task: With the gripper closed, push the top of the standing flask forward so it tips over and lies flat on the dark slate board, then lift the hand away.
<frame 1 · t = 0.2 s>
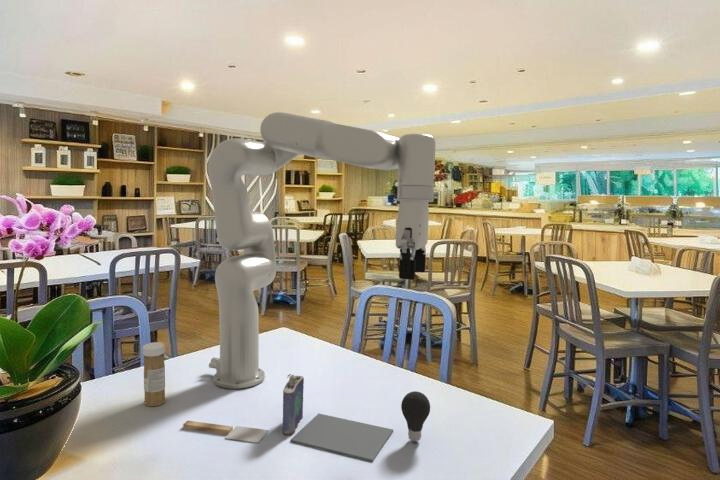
hand: (412, 275, 103), 31 cm above the table, tool pointing down, fingers open, 9 cm apart
slate board: (343, 436, 96), on the table
light bulb: (414, 442, 95), on the table
sprinkles bottle: (155, 403, 109), on the table
turner: (228, 432, 97), on the table
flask: (292, 425, 100), on the table
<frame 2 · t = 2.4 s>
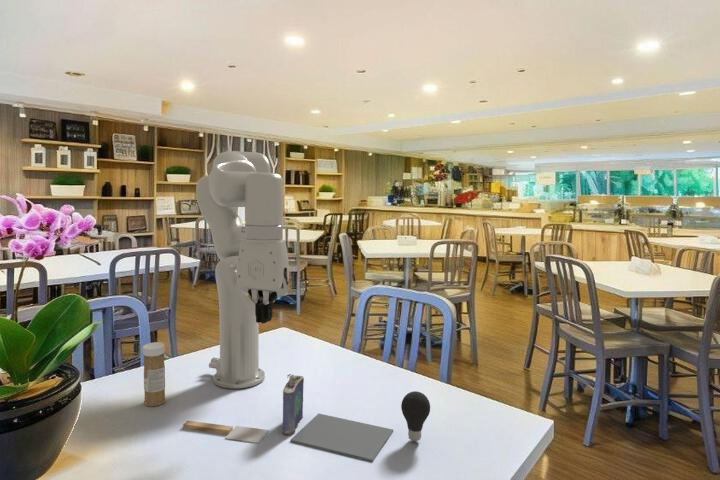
hand: (263, 321, 101), 21 cm above the table, tool pointing down, fingers closed
nothing on the table moved.
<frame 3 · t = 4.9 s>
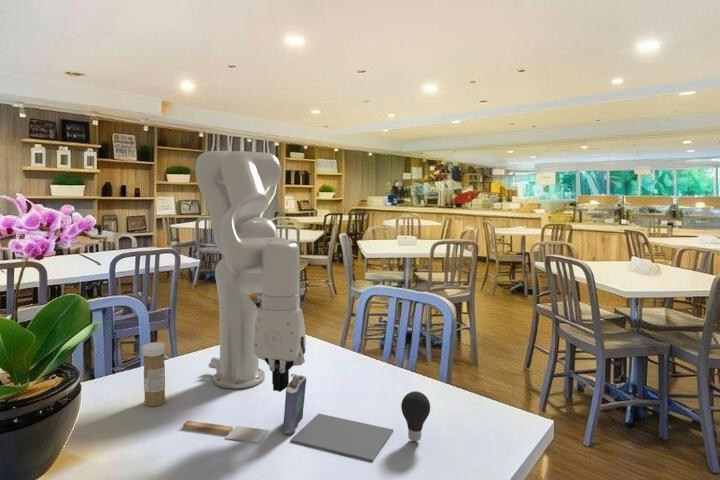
hand: (280, 388, 100), 7 cm above the table, tool pointing down, fingers closed
nothing on the table moved.
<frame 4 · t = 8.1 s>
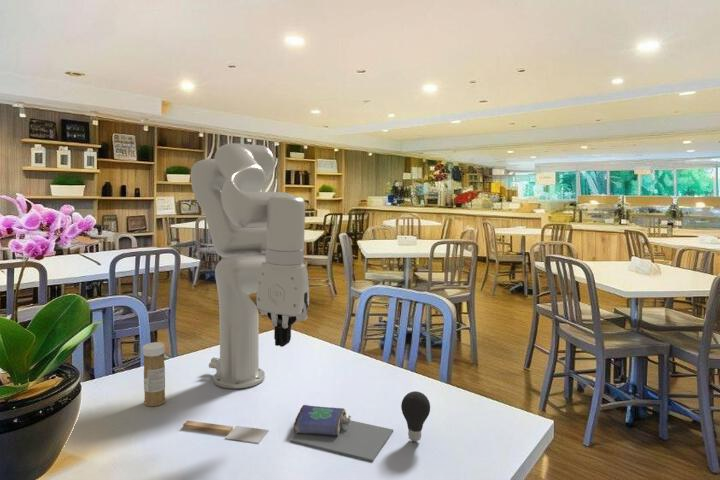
hand: (282, 343, 100), 17 cm above the table, tool pointing down, fingers closed
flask: (298, 417, 100), point 2 cm above the table, touching slate board
everything else where it was.
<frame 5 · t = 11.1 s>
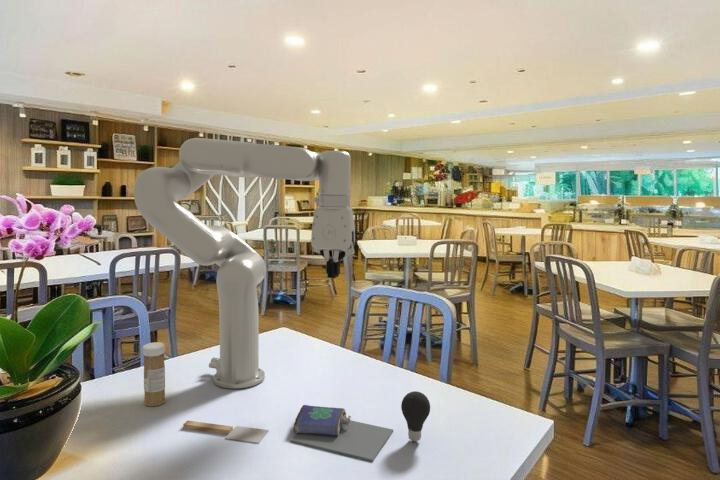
hand: (333, 277, 119), 27 cm above the table, tool pointing down, fingers closed
nothing on the table moved.
at the end: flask tilted 89°; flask 10.3 cm from the slate board (horizontally); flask moved 2.1 cm from its start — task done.
